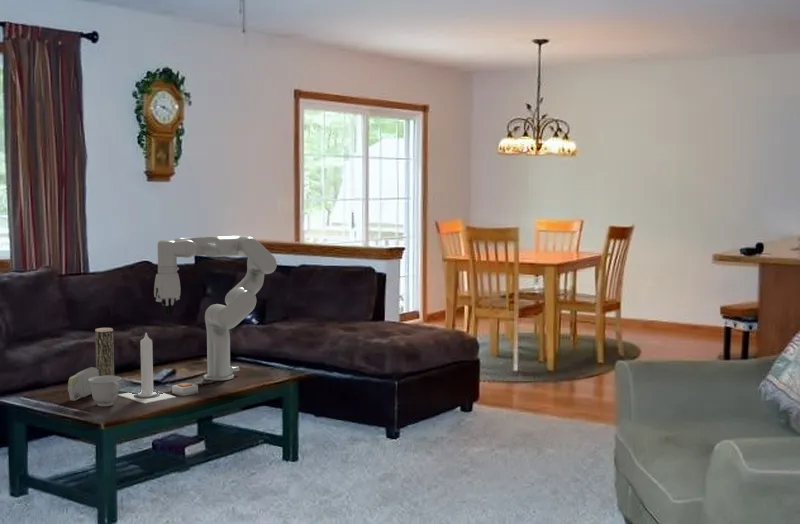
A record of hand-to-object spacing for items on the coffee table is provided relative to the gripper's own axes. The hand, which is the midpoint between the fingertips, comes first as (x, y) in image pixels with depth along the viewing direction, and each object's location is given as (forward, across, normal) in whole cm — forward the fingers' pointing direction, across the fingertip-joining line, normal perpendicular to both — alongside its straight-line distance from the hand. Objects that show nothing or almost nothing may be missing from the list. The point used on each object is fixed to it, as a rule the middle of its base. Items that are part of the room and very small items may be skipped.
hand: (168, 314), depth 402 cm
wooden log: (+29, +24, -9) cm, 39 cm away
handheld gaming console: (+29, +35, -6) cm, 46 cm away
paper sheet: (+29, +18, +12) cm, 36 cm away
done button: (+27, +4, +17) cm, 33 cm away
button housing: (+29, +4, +17) cm, 34 cm away
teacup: (+29, +36, +13) cm, 48 cm away
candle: (+29, +18, +11) cm, 36 cm away
